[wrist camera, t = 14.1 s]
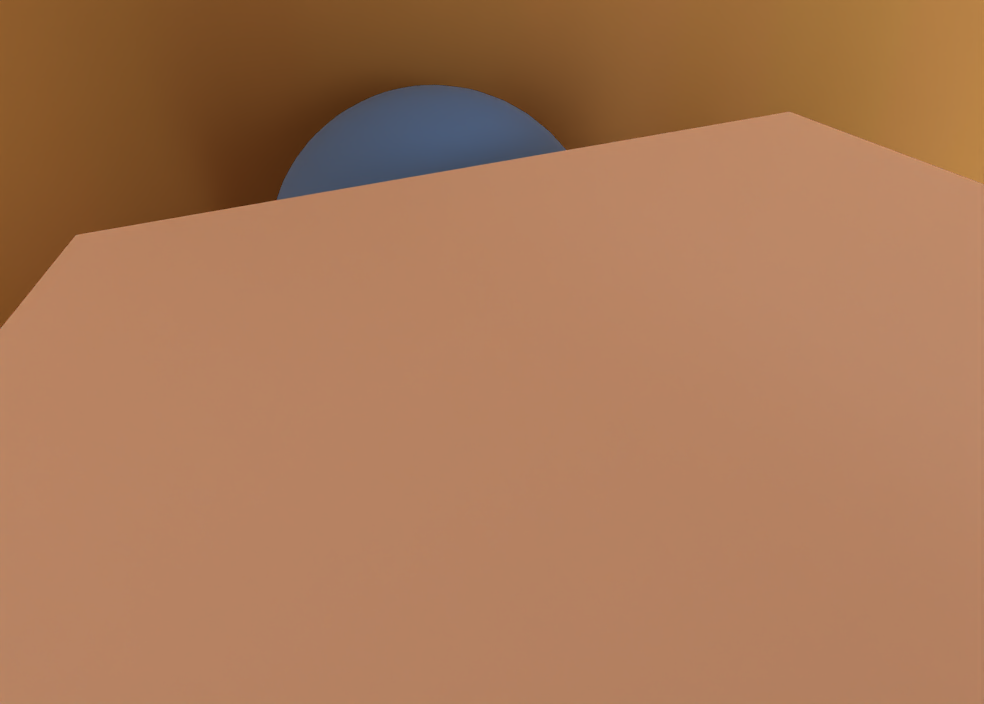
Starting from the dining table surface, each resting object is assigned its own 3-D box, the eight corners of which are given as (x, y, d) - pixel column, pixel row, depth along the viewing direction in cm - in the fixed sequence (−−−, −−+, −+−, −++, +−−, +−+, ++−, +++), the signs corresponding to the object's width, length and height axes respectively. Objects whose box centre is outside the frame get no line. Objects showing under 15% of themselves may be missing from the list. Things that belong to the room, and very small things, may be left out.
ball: (590, 400, 13) (532, 153, 14) (692, 360, 8) (597, -16, 9) (323, 455, 13) (276, 193, 13) (266, 446, 8) (197, 34, 8)
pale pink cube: (789, 111, 8) (2002, 567, 2) (737, 575, 12) (1121, 1159, 6) (76, 235, 7) (-1009, 1576, 1) (281, 692, 11) (242, 1507, 5)
